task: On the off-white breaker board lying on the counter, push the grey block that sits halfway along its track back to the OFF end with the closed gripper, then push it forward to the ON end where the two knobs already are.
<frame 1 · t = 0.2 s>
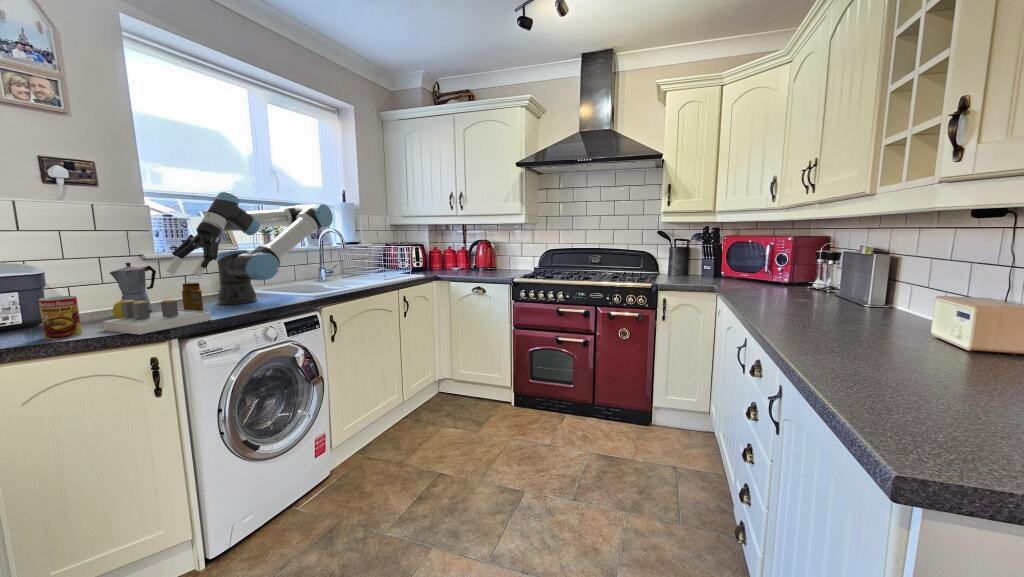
hand: (183, 273, 154), 16 cm above the countertop, tool tilted 35°, fingers open, 13 cm apart
knob far: (129, 308, 139), point 6 cm above the countertop, slide at 5.0 cm
moka pot: (138, 312, 166), on the countertop
knob middle: (140, 309, 137), point 6 cm above the countertop, slide at 5.0 cm
grey block: (169, 308, 140), point 6 cm above the countertop, slide at 0.0 cm
panel: (160, 324, 143), on the countertop
condiment: (193, 314, 162), on the countertop
lemon: (125, 322, 148), on the countertop
canned food: (63, 336, 128), on the countertop
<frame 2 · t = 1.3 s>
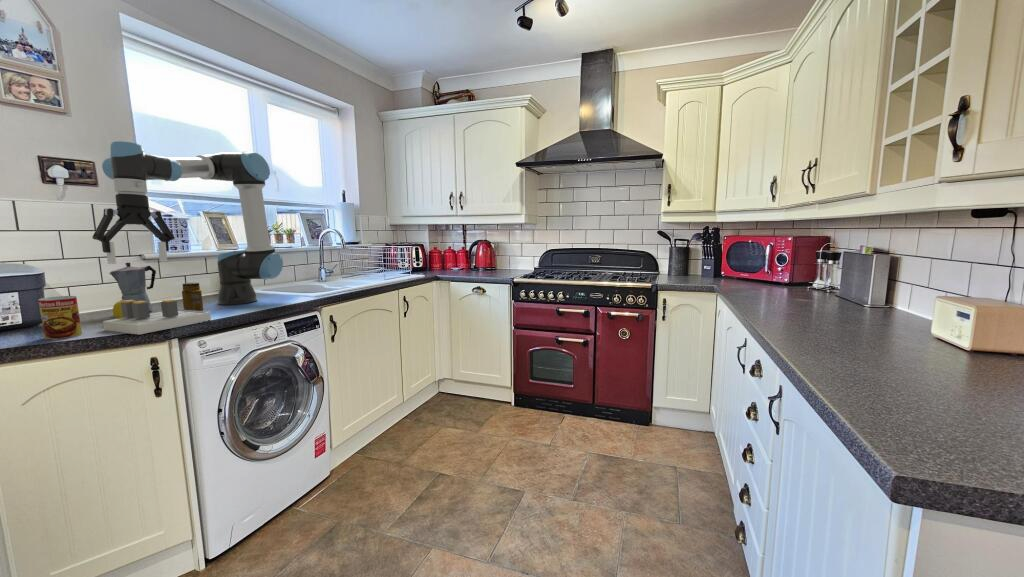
hand: (139, 262, 131), 22 cm above the countertop, tool pointing down, fingers open, 13 cm apart
nothing on the countertop moved.
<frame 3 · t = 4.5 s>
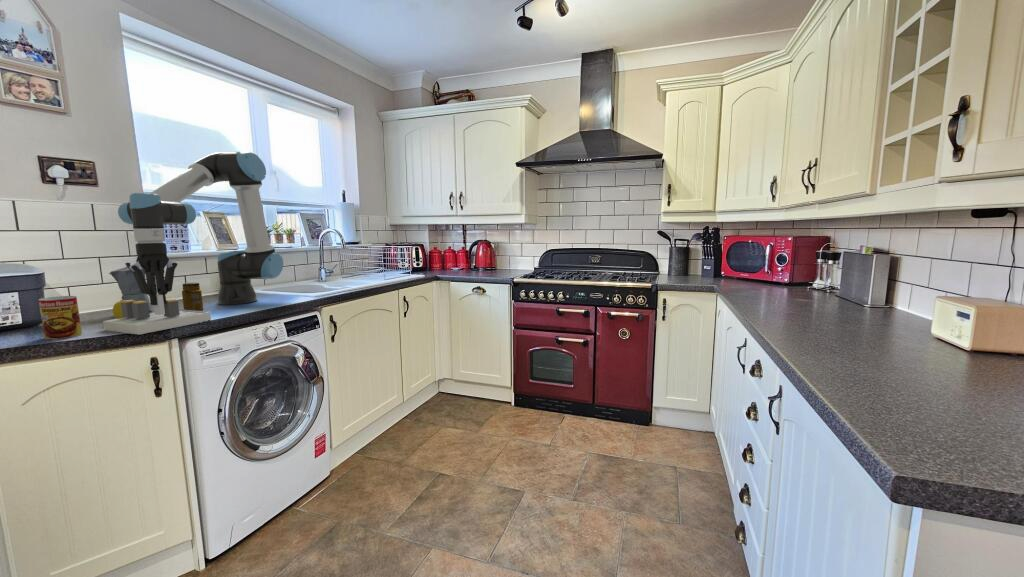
hand: (159, 314, 137), 5 cm above the countertop, tool pointing down, fingers closed
grey block: (170, 307, 140), point 6 cm above the countertop, slide at -0.4 cm, touching gripper
everything else where it was.
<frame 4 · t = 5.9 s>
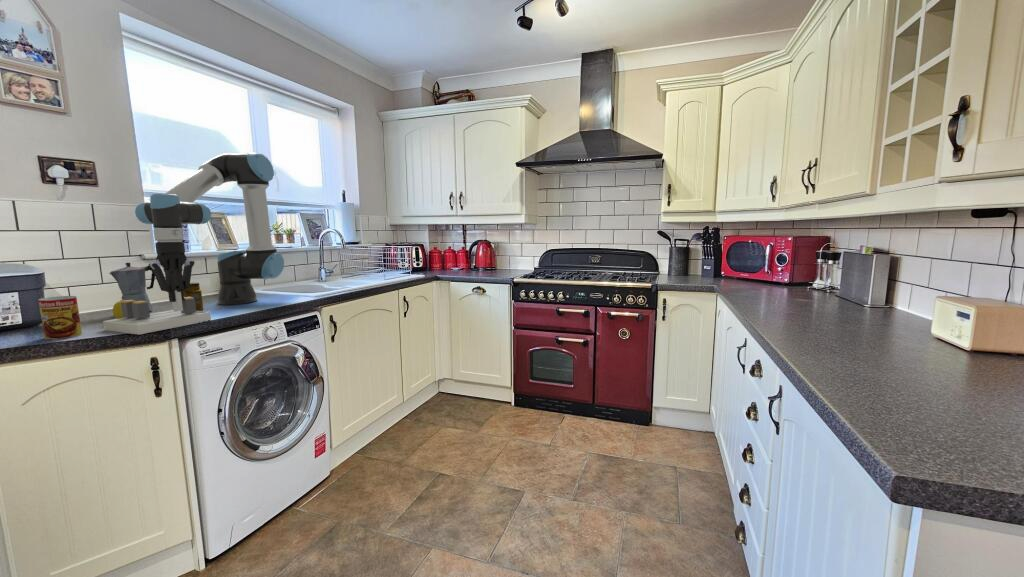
hand: (178, 310, 142), 5 cm above the countertop, tool pointing down, fingers closed
grey block: (188, 305, 145), point 6 cm above the countertop, slide at -5.7 cm, touching gripper
everything else where it was.
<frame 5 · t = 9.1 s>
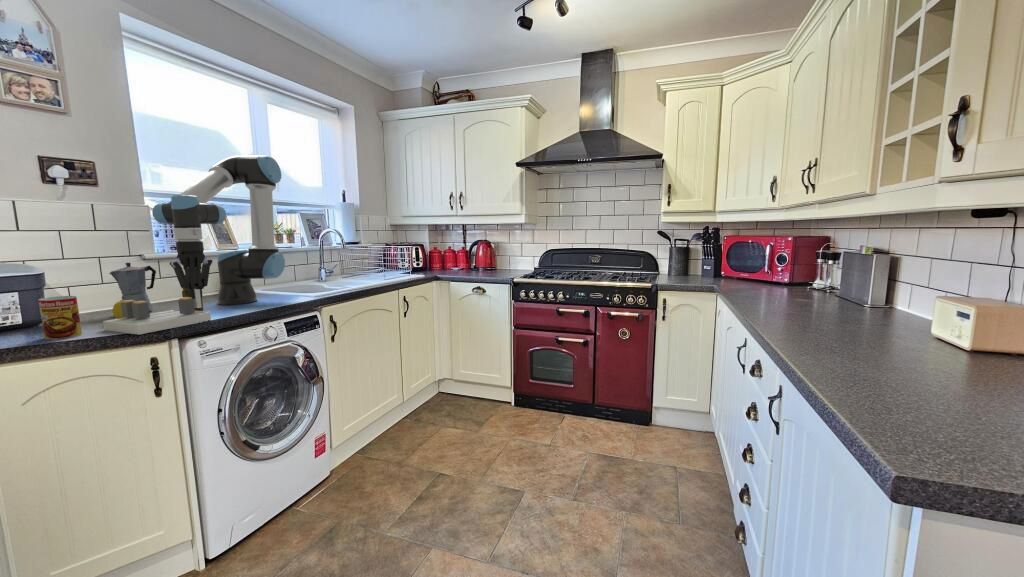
hand: (196, 307, 148), 5 cm above the countertop, tool pointing down, fingers closed
grey block: (186, 305, 144), point 6 cm above the countertop, slide at -5.3 cm, touching gripper
everything else where it was.
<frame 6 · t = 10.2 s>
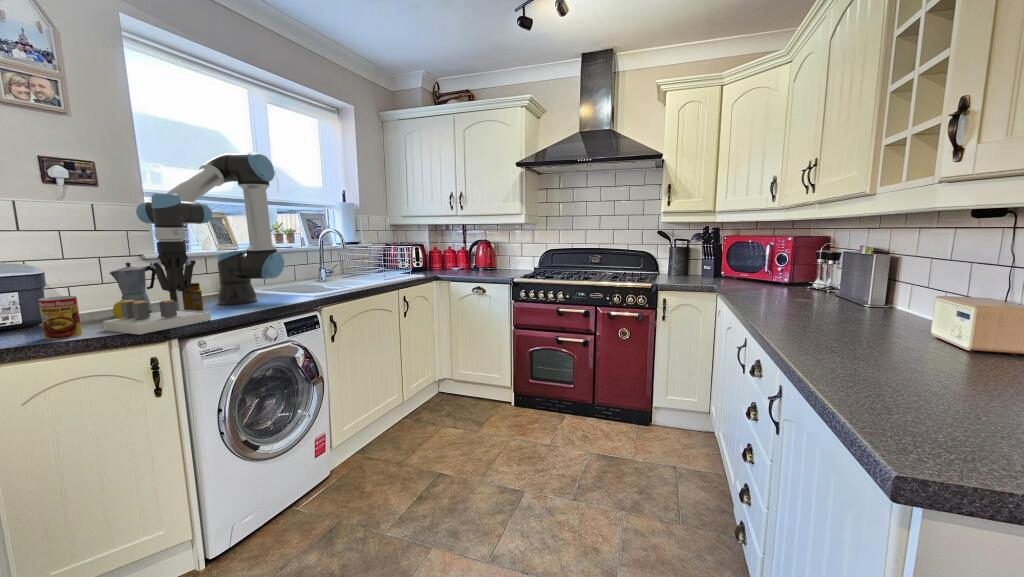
hand: (179, 310, 142), 5 cm above the countertop, tool pointing down, fingers closed
grey block: (168, 308, 139), point 6 cm above the countertop, slide at 0.4 cm, touching gripper
everything else where it was.
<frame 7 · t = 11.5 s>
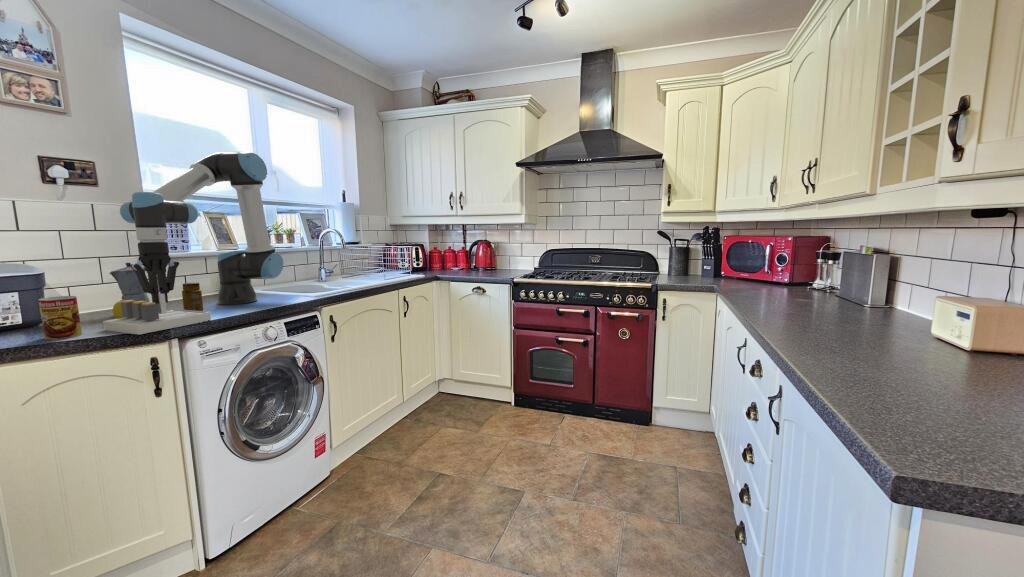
hand: (161, 313, 137), 5 cm above the countertop, tool pointing down, fingers closed
grey block: (149, 311, 134), point 6 cm above the countertop, slide at 5.7 cm, touching gripper
everything else where it was.
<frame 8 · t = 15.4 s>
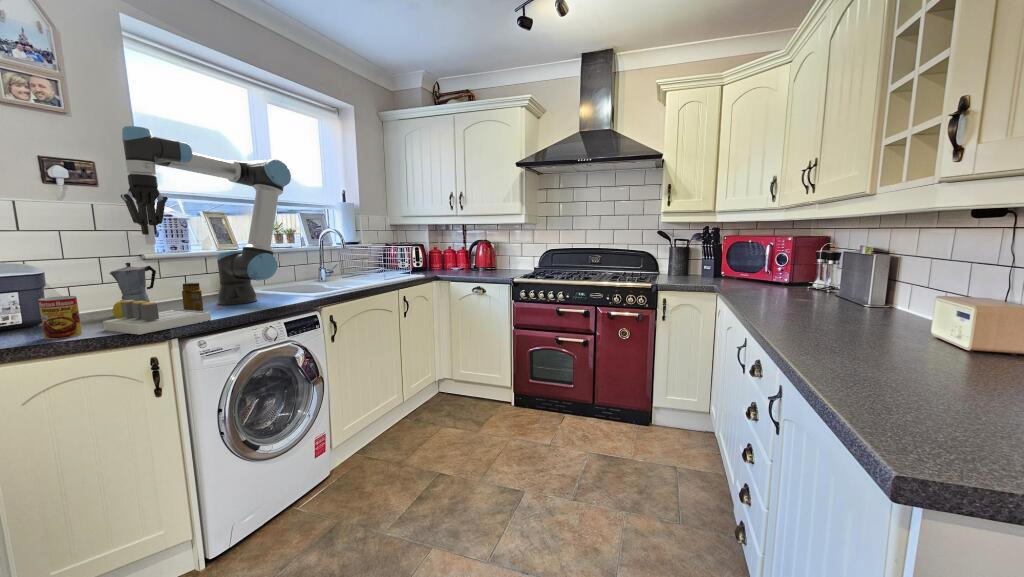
hand: (151, 244, 145), 27 cm above the countertop, tool pointing down, fingers closed
grey block: (149, 311, 134), point 6 cm above the countertop, slide at 5.8 cm
everything else where it was.
at the end: grey block slide at 5.8 cm; knob middle slide at 5.0 cm; knob far slide at 5.0 cm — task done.
